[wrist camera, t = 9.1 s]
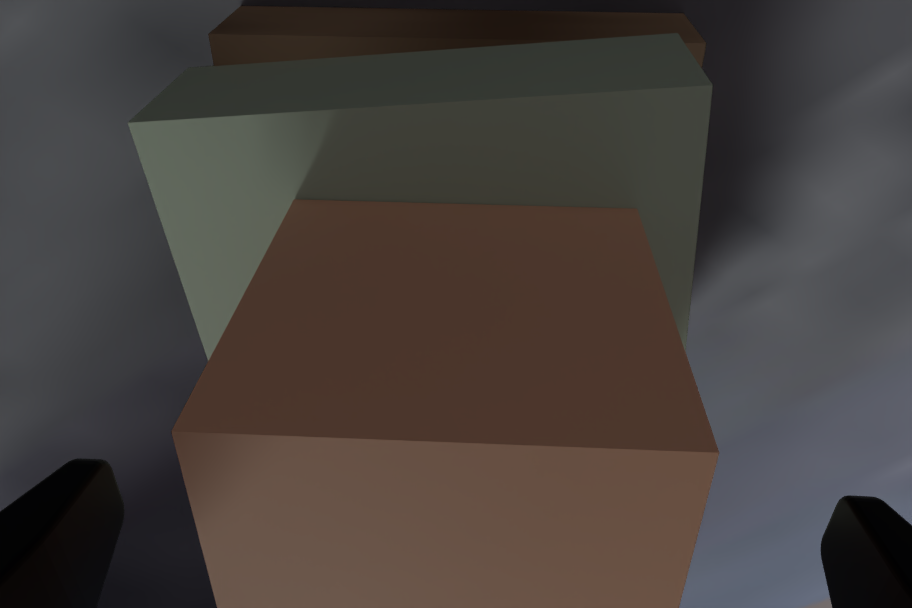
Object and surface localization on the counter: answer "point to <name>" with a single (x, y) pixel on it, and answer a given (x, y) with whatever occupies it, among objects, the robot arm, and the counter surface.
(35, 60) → the counter surface
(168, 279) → the counter surface
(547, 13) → the walnut slab
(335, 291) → the tan cube
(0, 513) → the robot arm
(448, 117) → the sage slab
